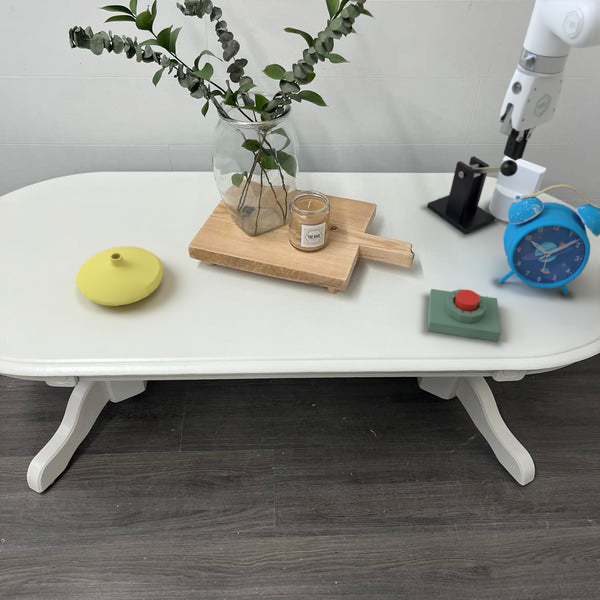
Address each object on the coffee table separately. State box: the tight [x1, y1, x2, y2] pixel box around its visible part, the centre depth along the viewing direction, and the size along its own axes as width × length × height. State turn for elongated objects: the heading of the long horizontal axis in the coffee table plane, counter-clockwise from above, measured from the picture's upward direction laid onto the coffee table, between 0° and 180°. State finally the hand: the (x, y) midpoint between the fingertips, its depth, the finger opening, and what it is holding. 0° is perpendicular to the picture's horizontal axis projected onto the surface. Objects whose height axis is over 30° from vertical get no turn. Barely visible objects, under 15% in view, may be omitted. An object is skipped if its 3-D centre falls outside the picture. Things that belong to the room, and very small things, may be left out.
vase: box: [75, 245, 164, 307], centre depth 106 cm, size 16×16×7 cm
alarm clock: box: [498, 183, 600, 295], centre depth 105 cm, size 17×10×20 cm, turn 76°
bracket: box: [426, 155, 496, 235], centre depth 124 cm, size 12×9×13 cm
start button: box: [455, 289, 480, 312], centre depth 101 cm, size 4×4×2 cm
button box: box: [427, 288, 501, 342], centre depth 102 cm, size 12×9×4 cm
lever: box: [467, 160, 518, 177], centre depth 116 cm, size 13×3×3 cm, turn 33°
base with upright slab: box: [488, 155, 547, 223], centre depth 126 cm, size 9×9×12 cm
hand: (512, 156), depth 111 cm, fingers closed
